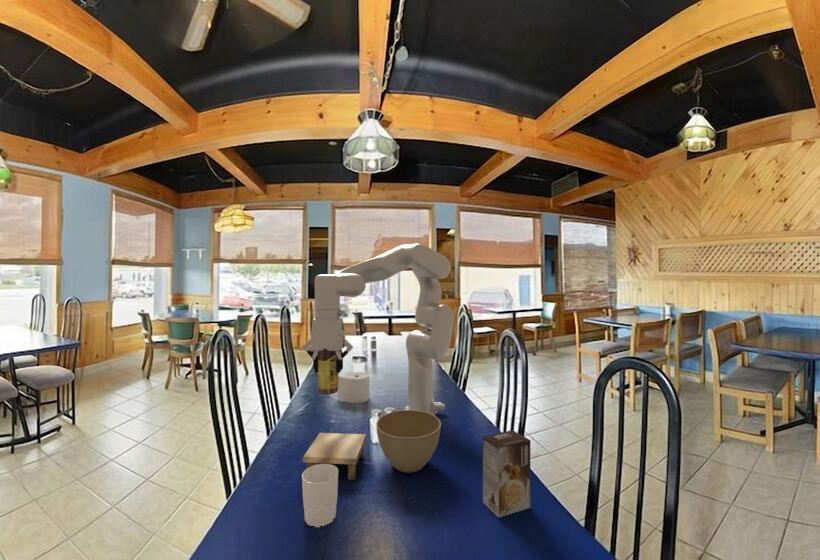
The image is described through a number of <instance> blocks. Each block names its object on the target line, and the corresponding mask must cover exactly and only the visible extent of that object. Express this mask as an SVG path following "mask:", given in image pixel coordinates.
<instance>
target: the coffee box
mask: <svg viewBox="0 0 820 560" xmlns="http://www.w3.org/2000/svg"><path fill="white" fill-rule="evenodd" d="M482 503H483V504H484V505H485V506H486V507H487V508H488V509H489V510H490V511H491V512H492V513H493V514H494V515H495V516H496V517H497V518H498V517H499V518H498V519H500V517H501V518H503V516H504V517H507V516H509V514H510V515H512V513H513V514H515V512H516V513H519V512H521V511H525V510H527V509H531V439H529V438H528V437H526V436H524V435H522V434H521V433H519V432H516V431H515V430H512V429H511V430H507V431H503V432H497V433H492V434H488V435H485V436H484V435H483V436H482ZM506 515H507V516H506Z"/></svg>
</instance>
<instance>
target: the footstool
mask: <svg viewBox="0 0 820 560" xmlns="http://www.w3.org/2000/svg"><path fill="white" fill-rule="evenodd" d="M366 440H367V434H365V433H364V434H363V433H332V432H319V433H318V435H317V436H316V438H315V439H314V441H313V442H312V443H311V444H310V446H309V448H308V449H307V451H305V453H304V455H303V457H302V458H303V459H302V463H306V469H307V468H309V467H311V466H314V465H316V464H331V465H334V464H335V465H336V464H337V465H347V480H349V481H353V480H355V479H356V478H357V477H356V468H357V467H356V465H357V463H358V461H359V459H363V458H364V457H365V456H364V449H365V448H364V446H365V443H366Z"/></svg>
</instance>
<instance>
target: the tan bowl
mask: <svg viewBox="0 0 820 560" xmlns="http://www.w3.org/2000/svg"><path fill="white" fill-rule="evenodd" d="M375 423H376V424H375V425H376V433H377V439H378V442H379V445H380V447H381V450H382V452H383V454H384V456H385V457H386V459H387V460H388V462H389V464H391V465H392V467H394V468H395V470H396V471H399V472H402V473H409V474H411V473H415V472H418V471H421V469H423V467H425V465H427V463H428V462H429V461H430V459H431V458H432V456H433V455H434V453H435V451H436V448H437V446H438V444H439V440H440V435H441V427H442V423H441V420H440V418H438V416H436V415H432V414H430V413H427V412H423V411H417V410H404V409H401V410H395V411H392V412H388V413H386V414H384V415H381V416H380V417H379V418H378V419H377V421H376V422H375Z"/></svg>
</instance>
